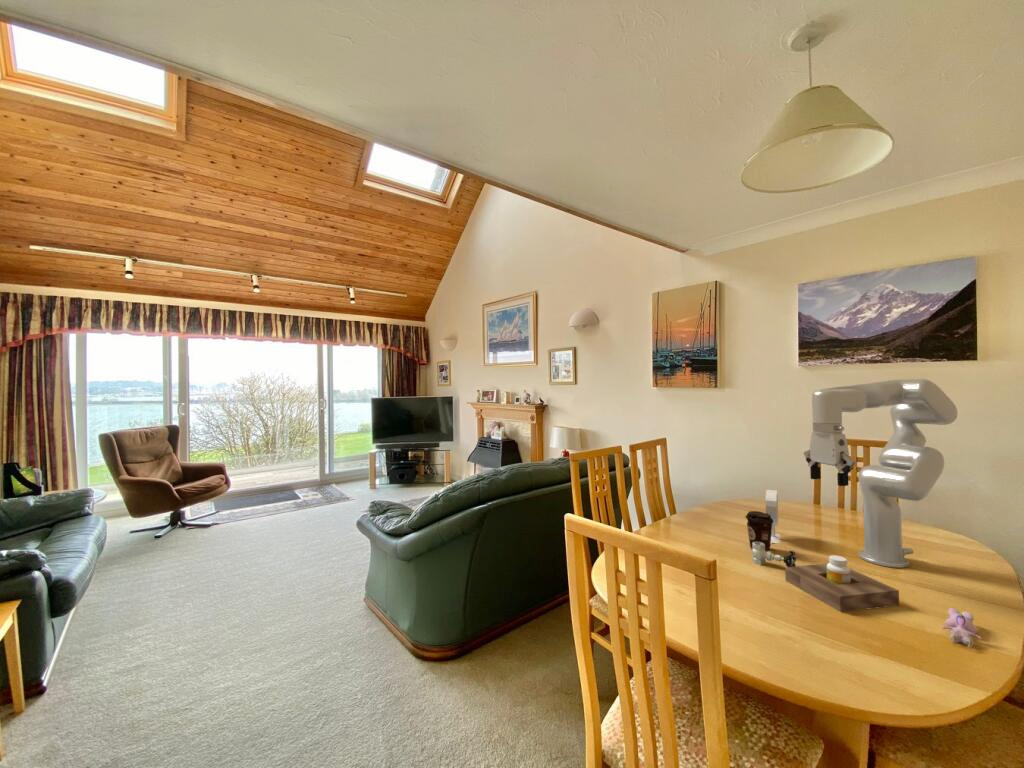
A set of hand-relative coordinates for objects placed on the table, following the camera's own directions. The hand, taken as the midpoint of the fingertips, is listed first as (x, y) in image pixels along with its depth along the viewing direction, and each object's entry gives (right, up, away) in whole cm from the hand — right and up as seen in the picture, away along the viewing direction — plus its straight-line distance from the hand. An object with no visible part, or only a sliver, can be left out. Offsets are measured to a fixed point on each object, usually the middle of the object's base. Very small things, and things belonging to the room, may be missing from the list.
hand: (828, 482), depth 132 cm
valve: (-15, -29, +4) cm, 33 cm away
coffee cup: (-11, -29, +18) cm, 36 cm away
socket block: (-8, -28, -14) cm, 32 cm away
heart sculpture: (0, -29, +29) cm, 41 cm away
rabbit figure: (+5, -28, -34) cm, 45 cm away
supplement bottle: (-8, -29, -14) cm, 32 cm away
